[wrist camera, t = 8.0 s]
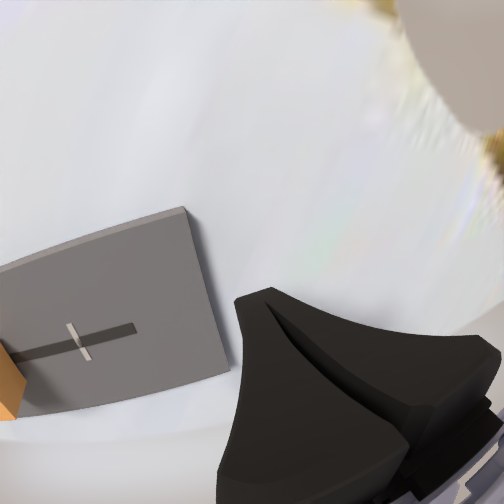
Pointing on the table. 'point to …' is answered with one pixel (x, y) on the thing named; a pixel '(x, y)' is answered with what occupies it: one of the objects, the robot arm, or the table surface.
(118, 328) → the board
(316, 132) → the table surface
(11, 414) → the fader knob
